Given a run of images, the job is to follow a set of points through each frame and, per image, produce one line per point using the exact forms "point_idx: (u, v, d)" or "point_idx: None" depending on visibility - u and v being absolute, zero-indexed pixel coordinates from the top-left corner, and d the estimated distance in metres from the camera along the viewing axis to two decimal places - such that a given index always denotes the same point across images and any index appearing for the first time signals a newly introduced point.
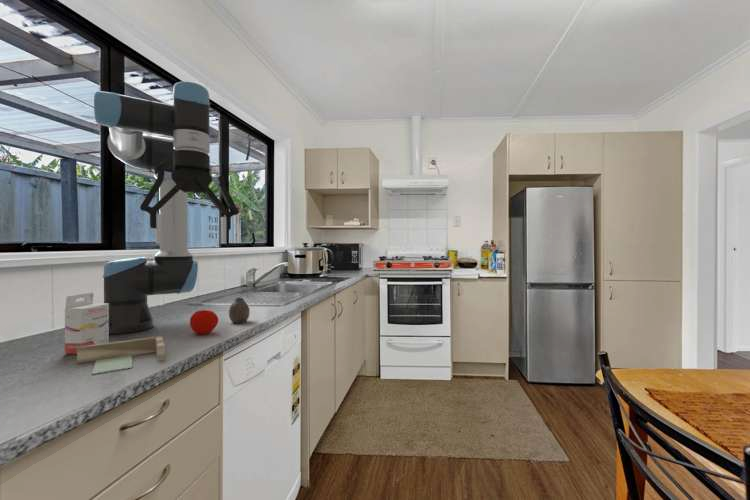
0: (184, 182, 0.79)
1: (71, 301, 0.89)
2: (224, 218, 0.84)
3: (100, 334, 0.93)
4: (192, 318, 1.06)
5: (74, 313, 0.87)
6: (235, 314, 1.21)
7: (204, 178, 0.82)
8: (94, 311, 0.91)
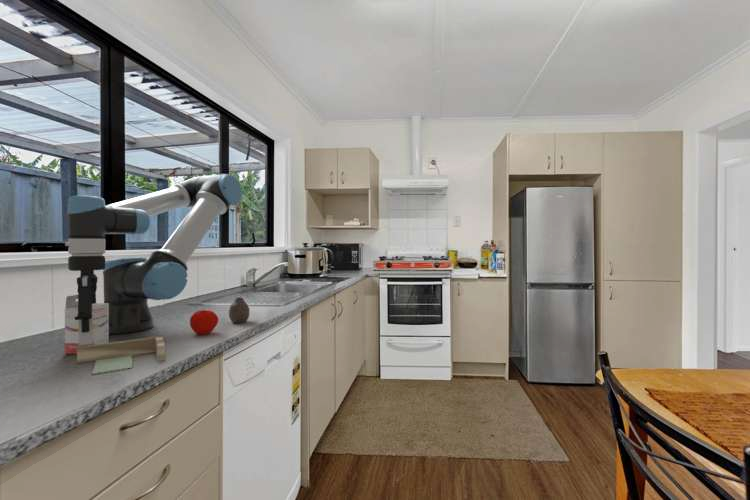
0: None
1: (71, 301, 0.89)
2: None
3: (100, 334, 0.93)
4: (192, 318, 1.06)
5: (74, 313, 0.87)
6: (235, 314, 1.21)
7: None
8: (94, 311, 0.91)
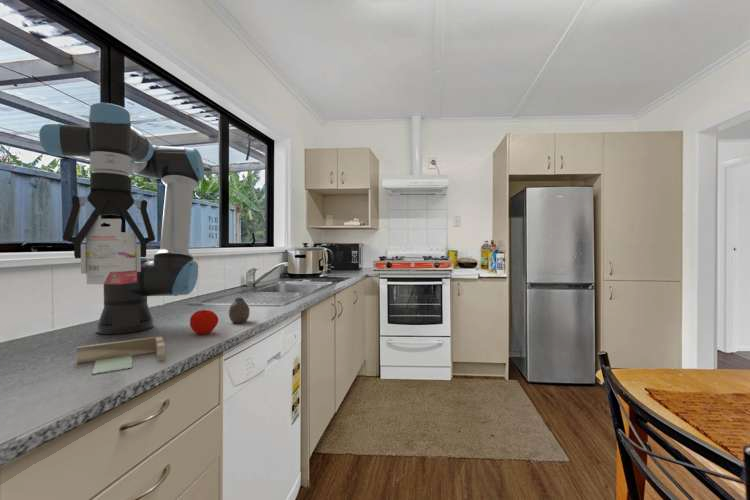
0: (102, 205, 0.77)
1: None
2: (138, 245, 0.81)
3: None
4: (192, 318, 1.06)
5: (130, 238, 0.80)
6: (235, 314, 1.21)
7: (124, 200, 0.80)
8: None
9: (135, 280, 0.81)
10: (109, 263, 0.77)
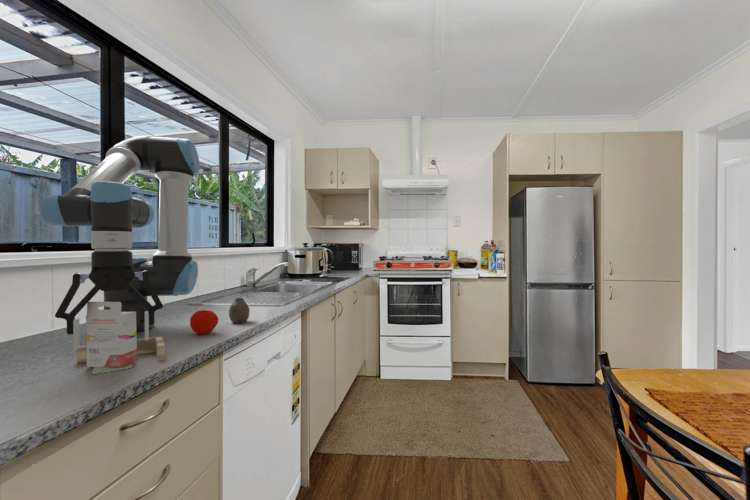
0: (102, 283, 0.77)
1: None
2: (146, 314, 0.82)
3: None
4: (192, 318, 1.06)
5: (130, 318, 0.80)
6: (235, 314, 1.21)
7: (125, 275, 0.80)
8: None
9: (135, 359, 0.81)
10: (109, 346, 0.77)
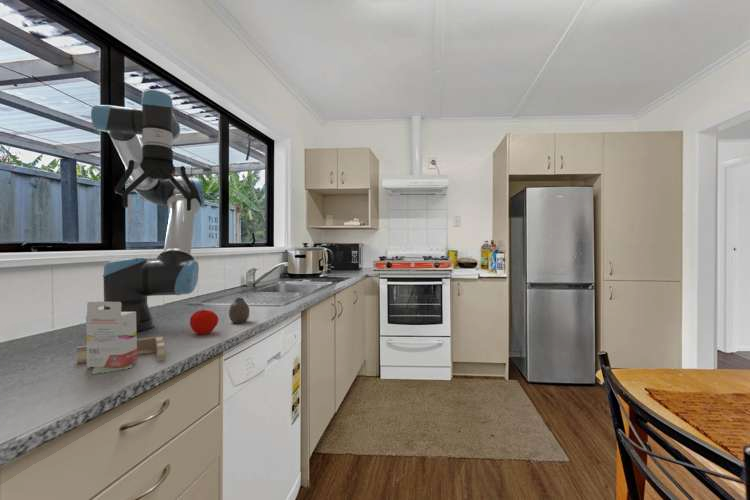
0: (150, 170, 0.98)
1: None
2: (185, 200, 1.03)
3: None
4: (192, 318, 1.06)
5: (130, 318, 0.80)
6: (235, 314, 1.21)
7: (168, 167, 1.01)
8: None
9: (135, 359, 0.81)
10: (109, 346, 0.77)
